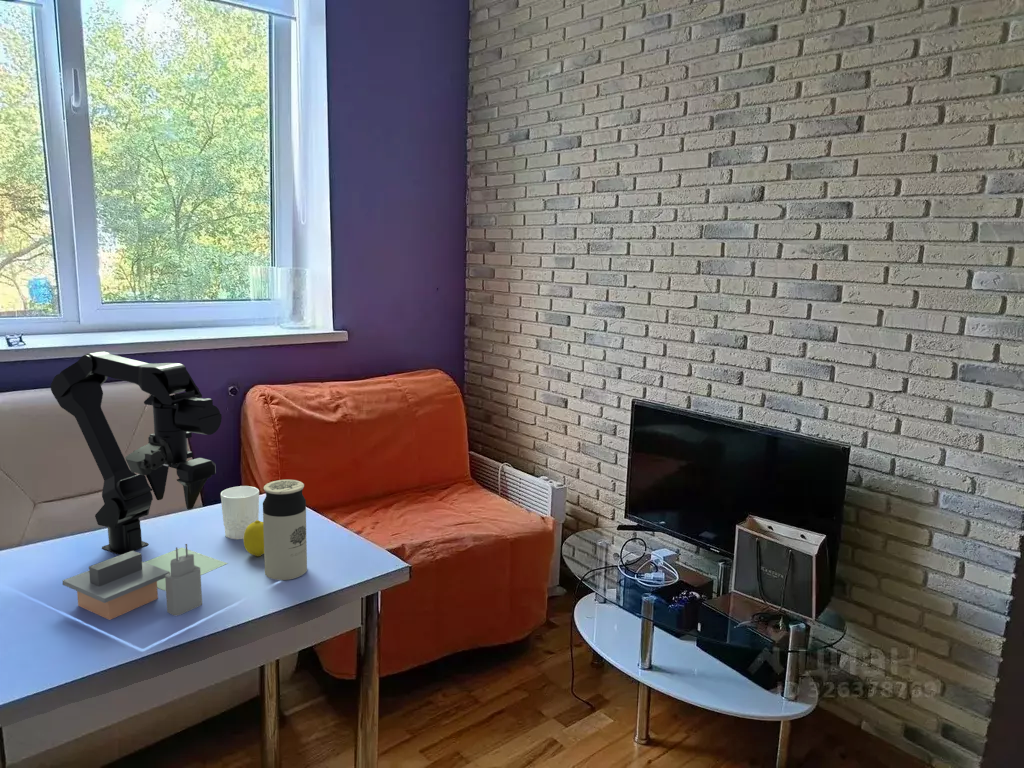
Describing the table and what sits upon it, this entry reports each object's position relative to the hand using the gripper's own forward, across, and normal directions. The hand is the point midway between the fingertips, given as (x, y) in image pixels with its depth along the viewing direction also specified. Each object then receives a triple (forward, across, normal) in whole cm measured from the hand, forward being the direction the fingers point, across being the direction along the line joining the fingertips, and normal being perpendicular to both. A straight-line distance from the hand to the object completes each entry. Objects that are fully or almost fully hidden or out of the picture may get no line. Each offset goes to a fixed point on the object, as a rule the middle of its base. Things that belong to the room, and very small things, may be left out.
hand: (174, 504), depth 144 cm
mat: (+12, +3, -3) cm, 13 cm away
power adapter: (+12, +18, -12) cm, 25 cm away
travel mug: (+12, +22, +8) cm, 26 cm away
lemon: (+12, +12, +10) cm, 20 cm away
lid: (+8, +7, -17) cm, 20 cm away
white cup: (+12, 0, +16) cm, 20 cm away
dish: (+12, +7, -17) cm, 22 cm away
